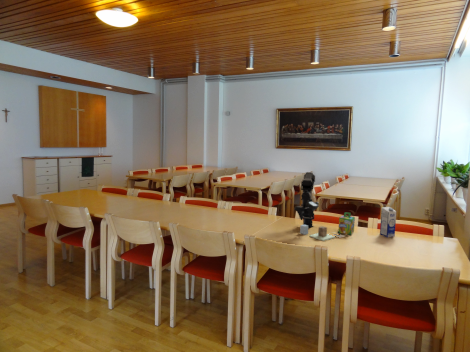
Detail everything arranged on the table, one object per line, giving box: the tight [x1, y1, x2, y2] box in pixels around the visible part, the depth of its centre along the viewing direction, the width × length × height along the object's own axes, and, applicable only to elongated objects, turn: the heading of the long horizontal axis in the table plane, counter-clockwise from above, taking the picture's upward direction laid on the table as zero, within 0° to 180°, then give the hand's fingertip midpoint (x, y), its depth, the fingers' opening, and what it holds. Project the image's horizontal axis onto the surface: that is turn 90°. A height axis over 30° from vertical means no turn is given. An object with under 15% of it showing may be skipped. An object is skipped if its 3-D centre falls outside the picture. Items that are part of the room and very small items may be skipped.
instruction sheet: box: [333, 233, 346, 239], centre depth 232 cm, size 10×7×1 cm
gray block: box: [299, 224, 309, 236], centre depth 235 cm, size 4×4×6 cm
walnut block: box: [317, 225, 328, 237], centre depth 227 cm, size 4×4×6 cm
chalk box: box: [337, 212, 356, 236], centre depth 238 cm, size 9×9×15 cm
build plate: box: [309, 232, 336, 242], centre depth 228 cm, size 12×12×1 cm
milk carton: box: [379, 206, 397, 238], centre depth 231 cm, size 7×7×20 cm
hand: (305, 219), depth 234 cm, fingers open, 9 cm apart
